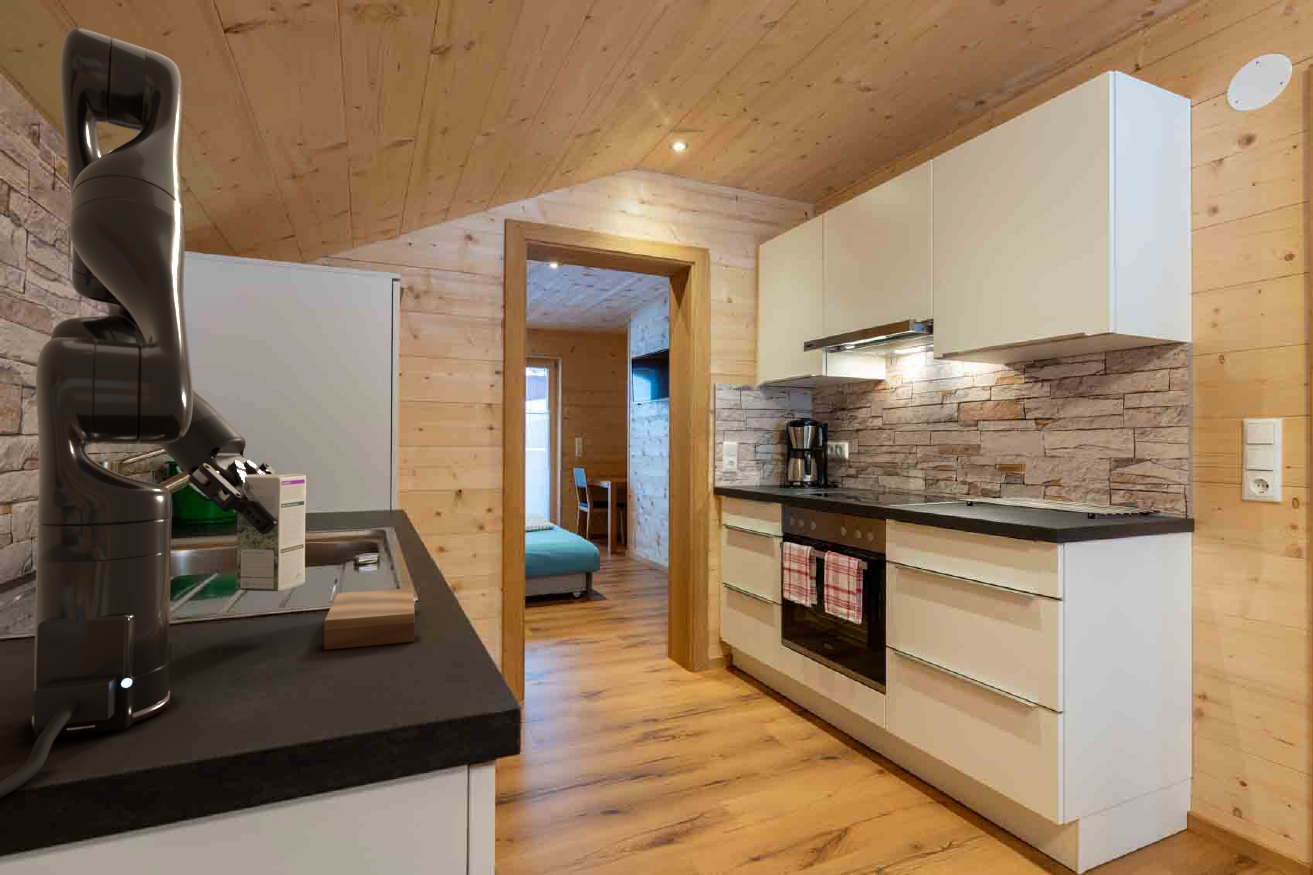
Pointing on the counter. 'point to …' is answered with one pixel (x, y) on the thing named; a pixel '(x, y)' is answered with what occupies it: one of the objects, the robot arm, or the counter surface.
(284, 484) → the syrup box
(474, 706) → the counter surface
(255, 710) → the counter surface
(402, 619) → the shelf
